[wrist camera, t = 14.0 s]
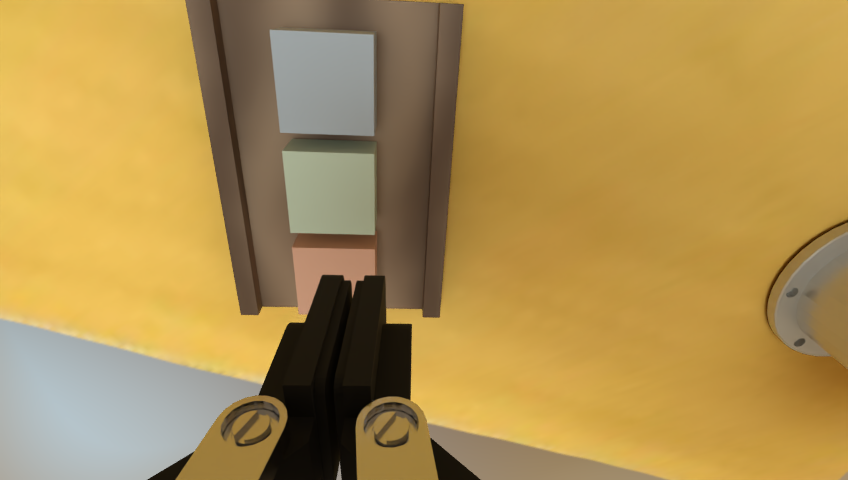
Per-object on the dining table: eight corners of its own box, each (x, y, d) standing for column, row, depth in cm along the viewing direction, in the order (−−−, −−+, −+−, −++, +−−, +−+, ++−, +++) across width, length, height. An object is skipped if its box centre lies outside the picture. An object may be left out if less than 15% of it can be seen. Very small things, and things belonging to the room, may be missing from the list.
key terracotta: (377, 231, 30) (374, 249, 28) (377, 293, 32) (375, 315, 30) (300, 229, 30) (291, 247, 27) (306, 292, 32) (298, 314, 30)
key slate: (376, 31, 24) (373, 34, 22) (376, 124, 27) (374, 136, 24) (281, 27, 24) (269, 29, 22) (290, 121, 26) (280, 132, 24)
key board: (459, 4, 25) (463, 4, 23) (437, 299, 35) (439, 317, 33) (201, -10, 24) (183, -11, 22) (250, 296, 34) (240, 314, 32)
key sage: (376, 141, 27) (374, 153, 25) (377, 217, 29) (374, 234, 27) (292, 138, 27) (282, 150, 25) (299, 215, 29) (290, 232, 27)
